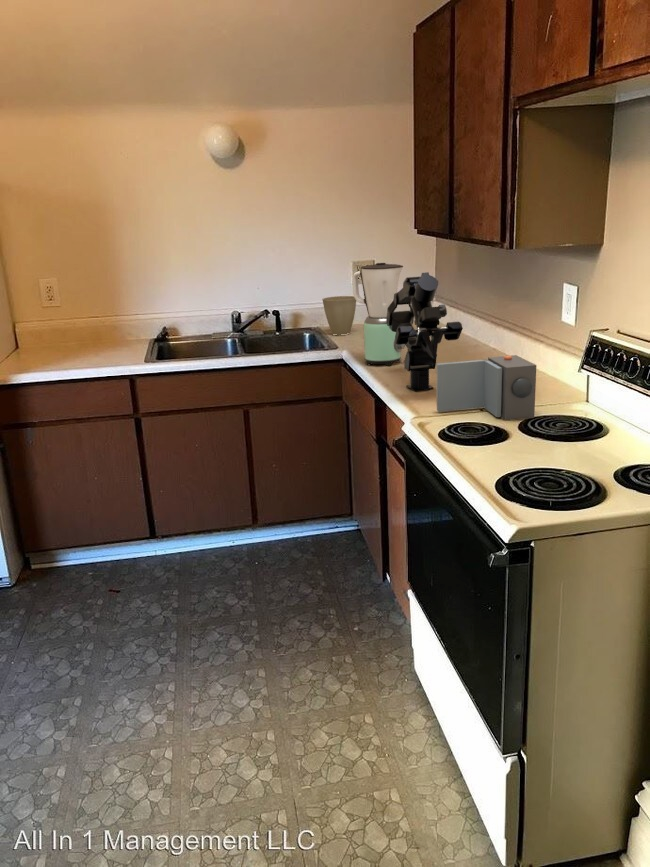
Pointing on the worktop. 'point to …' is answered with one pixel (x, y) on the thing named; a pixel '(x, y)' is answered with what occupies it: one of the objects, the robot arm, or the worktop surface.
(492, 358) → the camera case
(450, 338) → the robot arm
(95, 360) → the worktop surface
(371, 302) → the mint green blender
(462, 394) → the grey bookend
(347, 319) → the plant pot
